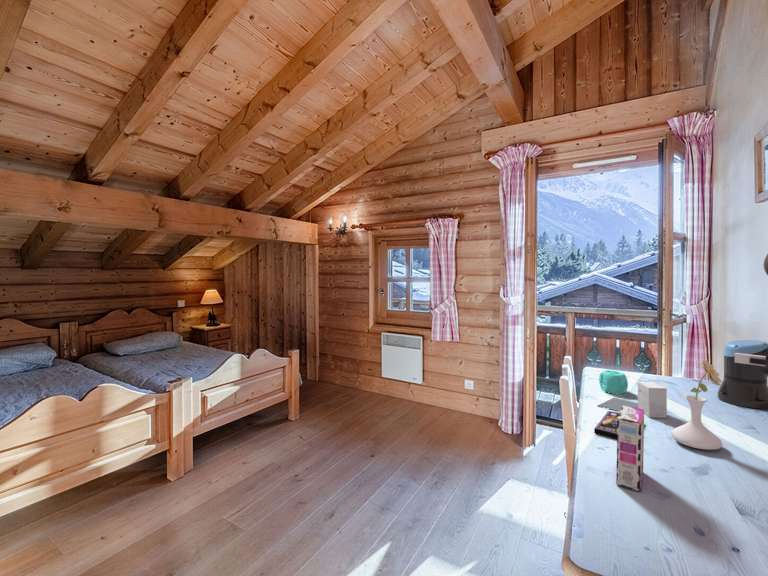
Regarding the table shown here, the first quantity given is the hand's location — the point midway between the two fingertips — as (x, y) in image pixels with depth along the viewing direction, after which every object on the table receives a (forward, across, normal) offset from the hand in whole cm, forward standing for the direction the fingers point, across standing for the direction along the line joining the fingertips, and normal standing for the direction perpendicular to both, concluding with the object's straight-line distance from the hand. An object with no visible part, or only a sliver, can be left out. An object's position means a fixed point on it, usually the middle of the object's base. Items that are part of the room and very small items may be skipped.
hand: (735, 357), depth 109 cm
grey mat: (+31, 0, -24) cm, 39 cm away
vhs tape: (+23, -22, -25) cm, 40 cm away
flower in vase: (+5, -16, -24) cm, 29 cm away
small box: (+21, 0, -24) cm, 32 cm away
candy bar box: (+9, -51, -24) cm, 57 cm away
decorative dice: (+40, +16, -24) cm, 50 cm away
